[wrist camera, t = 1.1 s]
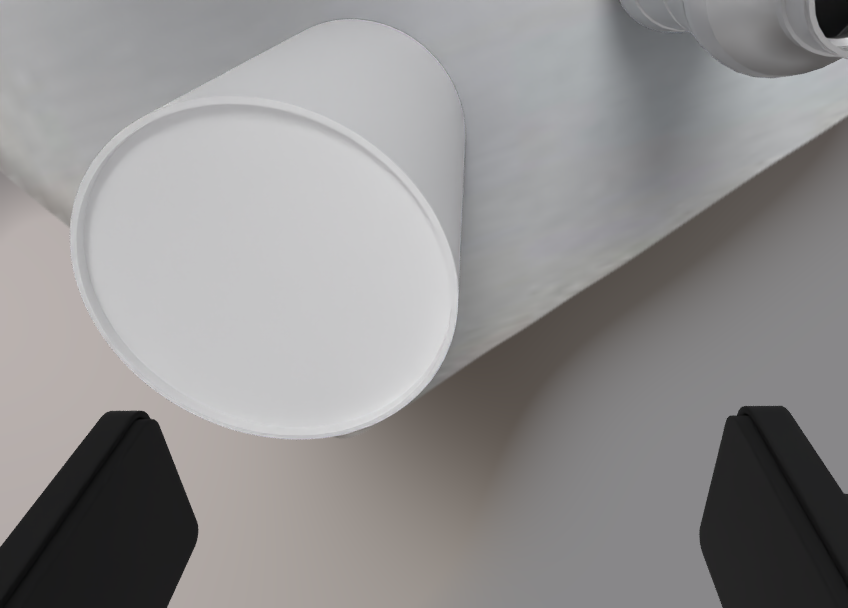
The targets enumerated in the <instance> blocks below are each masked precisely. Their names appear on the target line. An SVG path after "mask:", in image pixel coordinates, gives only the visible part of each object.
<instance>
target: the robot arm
mask: <svg viewBox="0 0 848 608" xmlns="http://www.w3.org/2000/svg"><path fill="white" fill-rule="evenodd" d="M197 538H198V524H197V521H196V518H195V515H194V513H193V510H192V508H191V505H190V503H189V500H188V498H187V495H186V492H185V490H184V487H183V485H182V483H181V480H180V477H179V475H178V472H177V470H176V467H175V464H174V462H173V460H172V457H171V454H170V452H169V449H168V447H167V444H166V441H165V439H164V436H163V434H162V431H161V429H160V426H159V424H158V422H157V421H155V420H154V419H150V417H149V416H148V414H147V413H146V412H144V411H110V412H107V413H105V414H104V415H103V416H102V417H101V418H100V419H99V421H98V422H97V423H96V425H95V426H94V427H93V429H92V430H91V431H90V433H89V434H88V435H87V436H86V438H85V439H84V440H83V441H82V443H81V444H80V445H79V446H78V448H77V449H76V450H75V452H74V453H73V454H72V455H71V457H70V458H69V459H68V461H67V462H66V463H65V465H64V466H63V467H62V468H61V470H60V471H59V472H58V474H57V475H56V476H55V477H54V479H53V480H52V481H51V483H50V484H49V485H48V486H47V488H46V489H45V490H44V491H43V493H42V494H41V495H40V497H39V498H38V499H37V500H36V502H35V503H34V504H33V506H32V507H31V508H30V510H29V511H28V512H27V513H26V515H25V516H24V517H23V519H22V520H21V521H20V523H19V524H18V525H17V526H16V528H15V529H14V530H13V531H12V533H11V534H10V535H9V537H8V538H7V539H6V541H5V542H4V543H3V544H2V546H1V547H0V608H167V606H168V604H169V601H170V599H171V597H172V595H173V593H174V591H175V589H176V586H177V584H178V582H179V580H180V578H181V575H182V573H183V571H184V569H185V567H186V565H187V562H188V560H189V558H190V556H191V554H192V551H193V549H194V547H195V544H196V542H197ZM700 545H701V549H702V553H703V556H704V558H705V561H706V564H707V566H708V569H709V572H710V574H711V577H712V580H713V582H714V585H715V588H716V590H717V593H718V596H719V599H720V601H721V604H722V607H723V608H848V494H844V493H843V492H842V490H841V489H840V487H839V486H838V484H837V483H836V481H835V480H834V478H833V477H832V475H831V474H830V472H829V471H828V469H827V468H826V466H825V465H824V463H823V462H822V460H821V459H820V457H819V456H818V454H817V453H816V451H815V450H814V448H813V447H812V445H811V444H810V442H809V441H808V439H807V438H806V436H805V435H804V433H803V432H802V430H801V429H800V427H799V426H798V424H797V423H796V421H795V419H794V418H793V416H792V415H791V414H790V412H789V411H788V410H787V409H786V408H785V407H783V406H744V407H742V408H740V410H739V411H738V414H737V416H729V417H728V418H727V420H726V424H725V427H724V432H723V436H722V440H721V444H720V448H719V452H718V456H717V461H716V464H715V469H714V473H713V477H712V481H711V485H710V489H709V493H708V497H707V501H706V506H705V509H704V514H703V518H702V522H701V526H700Z"/></svg>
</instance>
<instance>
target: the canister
mask: <svg viewBox="0 0 848 608" xmlns="http://www.w3.org/2000/svg"><path fill="white" fill-rule="evenodd" d="M465 138H466V132H465V120H464V114H463V109H462V105H461V102H460V99H459V96H458V93H457V91H456V89H455V86H454V84H453V82H452V81H451V79H450V77H449V75H448V74H447V72H446V71H445V69H444V68H443V66H442V65H441V64H440V63H439V61H438V60H437V59H436V58H435V57H434V56H433V55H432V54H431V53H430V52H429V51H428V50H427V49H426V48H425V47H424V46H423V45H421V44H420V43H419V42H418V41H416V40H415V39H413V38H412V37H410V36H409V35H407V34H405V33H403V32H402V31H399V30H397V29H395V28H393V27H390V26H388V25H385V24H382V23H378V22H374V21H369V20H361V19H341V20H333V21H328V22H324V23H321V24H318V25H315V26H313V27H310V28H308V29H306V30H304V31H302V32H300V33H298V34H296V35H295V36H293V37H291V38H289V39H287V40H285V41H283V42H282V43H280V44H278V45H276V46H274V47H272V48H270V49H268V50H267V51H265V52H263V53H261V54H259V55H257V56H255V57H254V58H252V59H250V60H248V61H246V62H244V63H242V64H240V65H239V66H237V67H235V68H233V69H231V70H229V71H227V72H225V73H224V74H222V75H220V76H218V77H216V78H214V79H212V80H211V81H209V82H207V83H205V84H203V85H201V86H199V87H197V88H196V89H194V90H192V91H190V92H188V93H186V94H184V95H182V96H181V97H179V98H177V99H175V100H173V101H171V102H169V103H168V104H166V105H164V106H162V107H160V108H158V109H156V110H154V111H153V112H151V113H149V114H147V115H145V116H143V117H141V118H140V119H138V120H136V121H135V122H133V123H132V124H130V125H128V126H127V127H126V128H124V129H123V130H122V131H120V132H119V133H118V134H117V135H116V136H115V137H113V138H112V139H111V140H110V141H109V142H108V143H107V144H106V145H105V146H104V148H103V149H102V150H101V151H100V152H99V154H98V155H97V156H96V157H95V159H94V160H93V162H92V163H91V165H90V166H89V168H88V170H87V172H86V173H85V175H84V177H83V179H82V181H81V184H80V186H79V189H78V192H77V194H76V198H75V201H74V205H73V210H72V215H71V223H70V252H71V260H72V266H73V271H74V275H75V279H76V282H77V285H78V289H79V291H80V294H81V297H82V299H83V302H84V304H85V306H86V309H87V311H88V313H89V315H90V317H91V318H92V320H93V322H94V324H95V325H96V327H97V329H98V330H99V332H100V333H101V335H102V336H103V338H104V339H105V341H106V342H107V343H108V345H109V346H110V347H111V348H112V350H113V351H114V352H115V354H116V355H117V356H118V357H119V358H120V359H121V360H122V361H123V362H124V364H125V365H126V366H127V367H128V368H129V369H130V370H131V371H132V372H133V373H135V374H136V375H137V376H138V377H139V378H140V379H141V380H142V381H143V382H145V383H146V384H147V385H148V386H150V387H151V388H152V389H153V390H155V391H156V392H158V393H159V394H160V395H162V396H163V397H165V398H166V399H168V400H169V401H171V402H172V403H174V404H176V405H177V406H179V407H181V408H183V409H185V410H186V411H188V412H190V413H192V414H194V415H196V416H198V417H200V418H202V419H205V420H207V421H210V422H212V423H215V424H218V425H220V426H223V427H226V428H229V429H232V430H235V431H239V432H243V433H247V434H252V435H256V436H262V437H269V438H278V439H318V438H327V437H333V436H338V435H343V434H347V433H351V432H354V431H358V430H360V429H363V428H366V427H369V426H371V425H373V424H376V423H378V422H380V421H382V420H384V419H386V418H387V417H389V416H391V415H393V414H394V413H396V412H397V411H399V410H400V409H402V408H403V407H404V406H406V405H407V404H408V403H409V402H411V401H412V400H413V399H414V398H415V397H416V396H417V395H418V394H419V393H420V392H421V391H422V390H423V389H424V388H425V387H426V386H427V385H428V383H429V382H430V381H431V380H432V378H433V377H434V375H435V374H436V372H437V371H438V369H439V368H440V366H441V364H442V362H443V360H444V358H445V356H446V354H447V352H448V349H449V347H450V344H451V341H452V338H453V335H454V331H455V326H456V321H457V313H458V297H459V274H460V252H461V229H462V206H463V184H464V161H465Z"/></svg>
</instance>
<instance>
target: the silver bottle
mask: <svg viewBox="0 0 848 608" xmlns="http://www.w3.org/2000/svg"><path fill="white" fill-rule="evenodd" d="M619 1H620V3H621V5H622V6H623V8H624V9H625V10H626V12H627V13H628V15H630V16H631V17H632V18H633V19H634V20H635V21H636V22H637V23H639V24H641V25H643V26H645V27H646V28H648V29H652V30H655V31H659V32H670V33H683V32H690V33H691V34H692V35H693V36H694V37H695V39H696V40H697V41H698V42H699V43H700V45H701V46H702V47H703V48H704V49H705V50H706V51H707V52H708V53H709V54H710V55H711V56H713V57H714V58H715V59H716V60H718V61H719V62H720V63H721V64H723V65H725V66H727V67H728V68H730V69H732V70H734V71H736V72H738V73H742V74H745V75H749V76H752V77H762V78H778V77H786V76H793V75H798V74H804V73H807V72H810V71H813V70H817V69H820V68H823V67H825V66H827V65H829V64H831V63H833V62H835V61H837V60H839V59H841V58H845V59H848V0H619Z"/></svg>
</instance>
